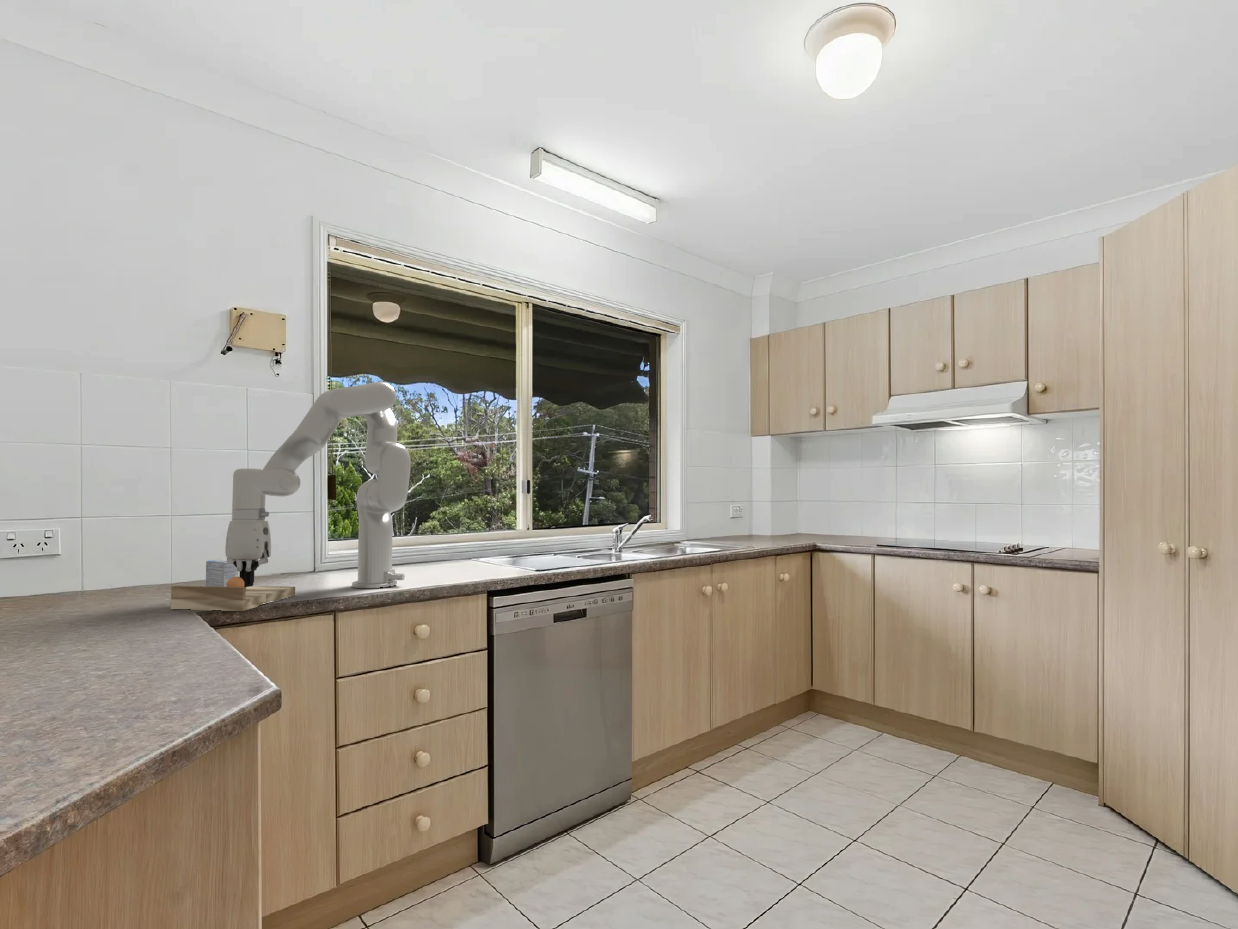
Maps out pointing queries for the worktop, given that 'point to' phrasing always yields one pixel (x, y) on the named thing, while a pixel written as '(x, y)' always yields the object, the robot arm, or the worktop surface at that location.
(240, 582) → the ball
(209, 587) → the board
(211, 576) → the medicine box
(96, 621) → the worktop surface
